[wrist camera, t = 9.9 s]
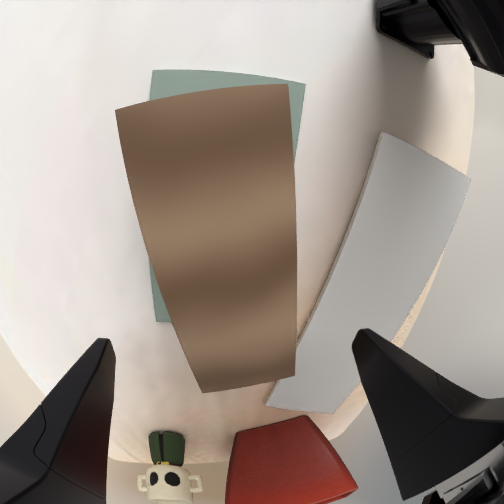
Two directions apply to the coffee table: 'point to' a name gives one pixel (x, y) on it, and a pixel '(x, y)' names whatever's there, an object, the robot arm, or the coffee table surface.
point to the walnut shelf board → (220, 225)
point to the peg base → (200, 80)
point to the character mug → (168, 472)
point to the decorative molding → (374, 270)
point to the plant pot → (286, 466)
